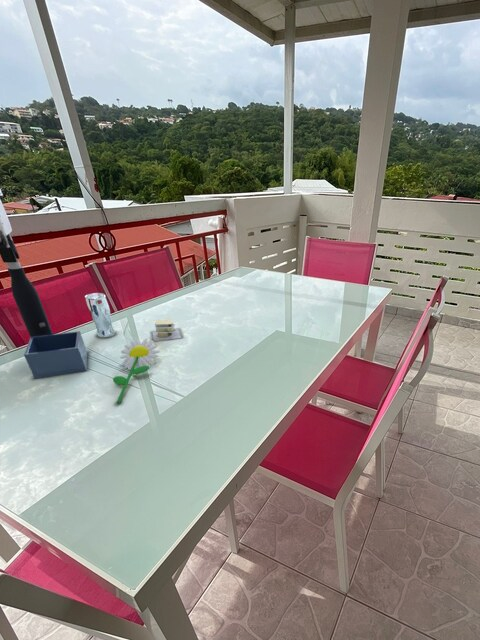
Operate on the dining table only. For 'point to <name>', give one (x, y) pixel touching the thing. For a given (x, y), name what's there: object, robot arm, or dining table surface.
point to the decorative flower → (136, 361)
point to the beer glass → (100, 314)
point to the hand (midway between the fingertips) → (11, 259)
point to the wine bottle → (27, 300)
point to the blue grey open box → (56, 354)
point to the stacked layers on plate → (165, 330)
